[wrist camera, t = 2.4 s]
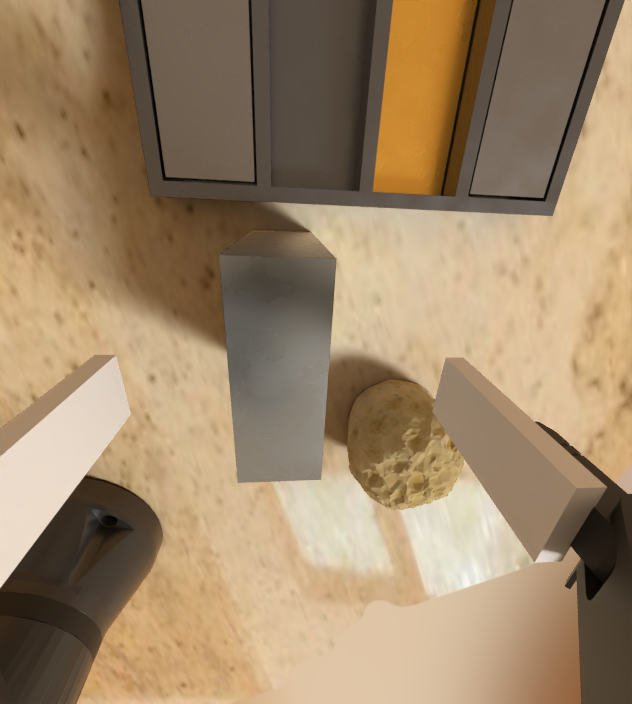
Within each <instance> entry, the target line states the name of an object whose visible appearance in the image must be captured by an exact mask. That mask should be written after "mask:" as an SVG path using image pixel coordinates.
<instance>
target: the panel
mask: <svg viewBox="0 0 632 704" xmlns="http://www.w3.org/2000/svg"><path fill="white" fill-rule="evenodd" d="M219 262H220V274H221V286H222V298H223V310H224V322H225V334H226V346H227V358H228V370H229V382H230V394H231V406H232V418H233V430H234V442H235V454H236V466H237V478H238V483H243V482H270V481H296V480H321V472H322V458H323V444H324V429H325V415H326V401H327V387H328V372H329V358H330V344H331V329H332V315H333V301H334V287H335V272H336V258H335V257H334V256H333V255H332V254H331V253H330V252H329V251H328V250H327V249H326V247H325V246H324V245H323V244H322V243H321V242H320V241H319V240H318V239H317V238H316V237H315V236H314V235H313V234H312V232H299V231H274V230H251V231H250V232H249V233H247V234H246V235H245V236H244V237H242V238H241V239H240V240H238V241H237V242H236V243H234V244H233V245H232V246H230V247H229V248H228V249H226V250H225V251H224V252H223V253H221V254H220V255H219Z"/></svg>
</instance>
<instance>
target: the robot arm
mask: <svg viewBox="0 0 632 704" xmlns="http://www.w3.org/2000/svg"><path fill="white" fill-rule="evenodd" d="M432 412H433V413H434V415H435V416H436V418H437V419H438V421H439V422H440V424H441V425H442V427H443V428H444V430H445V431H446V433H447V434H448V436H449V437H450V438H451V440H452V441H453V443H454V444H455V446H456V447H457V449H458V450H459V452H460V453H461V455H462V456H463V458H464V459H465V461H466V462H467V464H468V465H469V466H470V468H471V469H472V471H473V472H474V474H475V475H476V477H477V478H478V480H479V481H480V483H481V484H482V486H483V487H484V489H485V490H486V492H487V493H488V494H489V496H490V497H491V499H492V500H493V502H494V503H495V505H496V506H497V508H498V509H499V511H500V512H501V514H502V515H503V517H504V518H505V520H506V521H507V522H508V524H509V525H510V527H511V528H512V530H513V531H514V533H515V534H516V536H517V537H518V539H519V540H520V542H521V543H522V545H523V546H524V548H525V549H526V551H527V552H528V553H529V555H530V556H531V558H532V559H533V561H534V562H535V563H537V562H555V561H562V560H563V558H564V556H565V555H566V553H567V551H568V550H569V548H570V547H572V548H573V549H574V550H575V552H576V553H577V554H578V555H579V557H580V558H581V559H580V561H579V563H578V564H577V565H576V567H575V569H574V570H573V572H572V573H571V575H570V576H569V578H568V579H567V582H566V585H565V587H567V588H569V589H570V588H571V587H572V585H573V584H574V582H577V596H578V597H577V599H578V627H579V654H580V681H581V704H632V494H627V493H626V492H625V491H623V490H622V489H621V488H620V487H619V486H618V485H617V484H616V483H614V482H613V481H612V480H611V479H610V478H609V477H607V476H606V475H605V474H604V473H603V472H602V471H600V470H599V469H598V468H597V467H596V466H595V465H594V464H592V463H591V462H590V461H589V460H588V459H587V458H585V457H584V456H581V453H580V452H579V451H577V450H576V449H575V448H574V447H573V446H570V445H569V443H568V442H567V441H566V440H565V439H563V438H562V437H561V436H560V435H559V434H558V433H557V432H555V431H554V430H552V429H550V428H548V427H547V426H545V425H543V424H541V423H540V422H534V421H533V420H532V419H531V418H530V417H529V416H528V415H526V414H525V413H524V412H523V411H522V410H521V409H520V408H519V407H518V406H516V405H515V404H514V403H513V402H512V401H511V400H510V399H509V398H508V397H506V396H505V395H504V394H503V393H502V392H501V391H500V390H499V389H498V388H496V387H495V386H494V385H493V384H492V383H491V382H490V381H489V380H488V379H486V378H485V377H484V376H483V375H482V374H481V373H480V372H479V371H477V370H476V369H475V368H474V367H473V366H472V365H471V364H470V363H469V362H467V361H466V360H465V359H464V358H446V359H445V363H444V367H443V371H442V375H441V379H440V383H439V387H438V391H437V395H436V399H435V403H434V407H433V411H432ZM130 415H131V412H130V408H129V404H128V400H127V396H126V393H125V389H124V385H123V381H122V377H121V373H120V369H119V365H118V361H117V357H116V355H94V356H93V357H92V358H90V359H89V360H88V361H86V362H85V363H84V364H83V365H81V366H80V367H79V368H78V369H76V370H75V371H74V372H72V373H71V374H70V375H69V376H67V377H66V378H65V379H63V380H62V381H61V382H60V383H58V384H57V385H56V386H55V387H53V388H52V389H51V390H49V391H48V392H47V393H46V394H44V395H43V396H42V397H40V398H39V399H38V400H37V401H35V402H34V403H33V404H31V405H30V406H29V407H28V408H26V409H25V410H24V411H23V412H21V413H20V414H19V415H17V416H16V417H15V418H14V419H12V420H11V421H10V422H8V423H7V424H6V425H5V426H3V427H2V428H1V429H0V704H77V701H78V699H79V696H80V694H81V691H82V689H83V687H84V684H85V682H86V679H87V677H88V674H89V672H90V669H91V667H92V664H93V662H94V659H95V657H96V654H97V652H98V650H99V647H100V645H101V643H102V640H103V638H104V636H105V634H106V632H107V630H108V629H109V628H110V626H111V625H112V623H113V622H114V621H115V619H116V618H117V617H118V615H119V614H120V612H121V611H122V610H123V608H124V607H125V605H126V604H127V603H128V601H129V600H130V599H131V597H132V596H133V594H134V593H135V592H136V590H137V589H138V587H139V586H140V585H141V583H142V582H143V580H144V579H145V578H146V576H147V575H148V573H149V572H150V570H151V568H152V567H153V564H154V562H155V559H156V557H157V554H158V551H159V549H160V546H161V543H162V536H163V534H162V527H161V524H160V522H159V520H158V518H157V516H156V515H155V513H154V512H153V511H152V509H151V508H150V507H149V506H148V505H147V504H146V503H145V502H143V501H142V500H141V499H139V498H138V497H136V496H135V495H133V494H132V493H130V492H128V491H126V490H124V489H122V488H120V487H117V486H115V485H112V484H109V483H106V482H102V481H98V480H94V479H89V478H83V477H84V476H85V475H86V473H87V472H88V471H89V469H90V468H91V467H92V465H93V464H94V463H95V461H96V460H97V459H98V457H99V456H100V455H101V453H102V452H103V451H104V449H105V448H106V447H107V445H108V444H109V443H110V441H111V440H112V439H113V437H114V436H115V435H116V433H117V432H118V431H119V429H120V428H121V427H122V425H123V424H124V423H125V421H126V420H127V419H128V417H129V416H130Z"/></svg>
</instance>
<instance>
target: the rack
mask: <svg viewBox="0 0 632 704" xmlns="http://www.w3.org/2000/svg"><path fill="white" fill-rule="evenodd" d="M624 1H625V0H119V3H120V9H121V15H122V21H123V28H124V34H125V40H126V46H127V53H128V59H129V65H130V71H131V77H132V84H133V90H134V96H135V102H136V109H137V115H138V121H139V127H140V134H141V140H142V146H143V152H144V159H145V165H146V171H147V177H148V183H149V190H150V196H160V197H178V198H198V199H218V200H238V201H259V202H279V203H299V204H319V205H339V206H359V207H379V208H399V209H419V210H440V211H460V212H480V213H500V214H520V215H542V216H553V213H554V210H555V207H556V204H557V201H558V198H559V195H560V192H561V189H562V186H563V183H564V180H565V177H566V174H567V171H568V168H569V165H570V162H571V159H572V156H573V153H574V150H575V147H576V144H577V141H578V138H579V135H580V132H581V129H582V126H583V123H584V120H585V117H586V114H587V111H588V108H589V105H590V102H591V99H592V96H593V93H594V90H595V87H596V84H597V81H598V78H599V75H600V72H601V69H602V66H603V63H604V60H605V57H606V54H607V51H608V48H609V45H610V42H611V39H612V36H613V33H614V30H615V27H616V24H617V21H618V18H619V15H620V12H621V10H622V7H623V4H624Z"/></svg>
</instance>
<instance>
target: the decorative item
mask: <svg viewBox="0 0 632 704" xmlns="http://www.w3.org/2000/svg"><path fill="white" fill-rule="evenodd" d="M434 403H435V399H434V398H433V397H432V395H431V394H430V393H429V392H428V391H427V390H426V389H424V388H423V387H421V386H420V385H418V384H415V383H411V382H407V381H402V380H395V379H389V380H386V381H383V382H381V383H378V384H376V385H372V386H371V387H369V388H368V389H366V390H365V391H364V392H363V393H361V394H360V395H359V396H358V397H357V398H356V400H355V402H354V404H353V406H352V410H351V412H350V416H349V422H348V442H347V450H348V458H349V469H350V471H351V473H352V474H353V476H354V478H355V479H356V480H357V481H358V483H360V485H361V486H362V488H363V489H364V491H365V492H366V493H367V494H368V495H369V496H370V497H371V498H373V499H374V500H375V501H377V502H378V503H380V504H382V505H384V506H385V507H386V508H388V509H391V510H398V509H400V510H404V509H407V508H413V507H416V506H420V505H423V504H429V503H431V502H432V501H433V500H437V499H440V498H443V497H445V496H448V493H449V492H450V491H452V488H453V485H454V483H455V482H456V480H457V478H458V476H459V475H460V474H461V470H462V467H463V465H464V458H463V456H462V455H461V453H460V452H459V450H458V449H457V447H456V446H455V444H454V443H453V441H452V440H451V438H450V437H449V436H448V434H447V433H446V431H445V430H444V428H443V427H442V425H441V424H440V422H439V421H438V419H437V418H436V416H435V415H434V413H433V412H432V411H433V407H434Z"/></svg>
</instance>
